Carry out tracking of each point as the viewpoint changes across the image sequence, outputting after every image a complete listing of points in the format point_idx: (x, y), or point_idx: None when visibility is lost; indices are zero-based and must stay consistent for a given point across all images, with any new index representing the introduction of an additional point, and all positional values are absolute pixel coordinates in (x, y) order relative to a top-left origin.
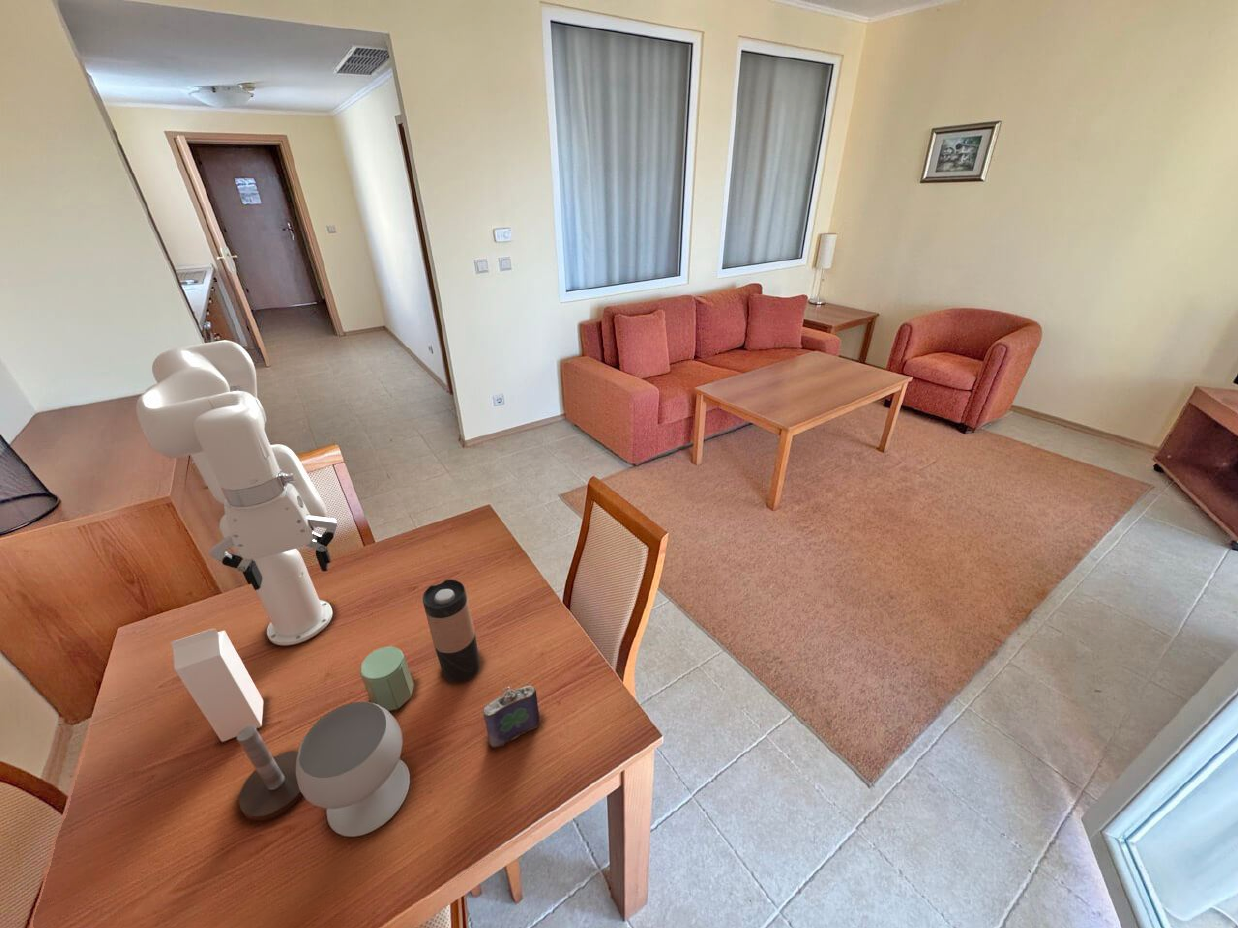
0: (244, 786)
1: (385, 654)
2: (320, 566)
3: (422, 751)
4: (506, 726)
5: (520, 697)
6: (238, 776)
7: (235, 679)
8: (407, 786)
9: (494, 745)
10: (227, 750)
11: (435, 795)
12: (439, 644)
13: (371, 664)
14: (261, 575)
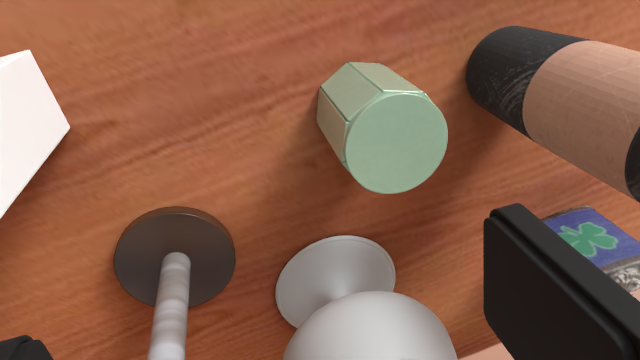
0: (117, 264)
1: (405, 122)
2: (514, 358)
3: (412, 234)
4: None
5: (635, 278)
6: (85, 229)
7: (5, 207)
8: (392, 287)
9: None
10: None
11: (427, 295)
12: (551, 150)
13: (371, 149)
14: (28, 353)
